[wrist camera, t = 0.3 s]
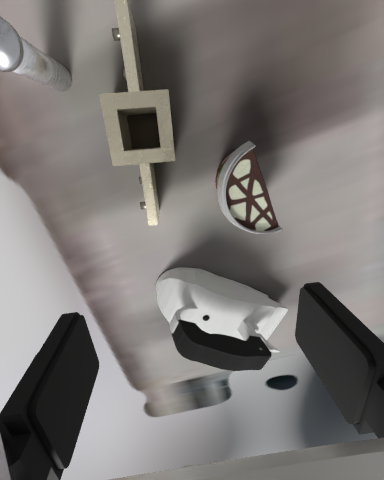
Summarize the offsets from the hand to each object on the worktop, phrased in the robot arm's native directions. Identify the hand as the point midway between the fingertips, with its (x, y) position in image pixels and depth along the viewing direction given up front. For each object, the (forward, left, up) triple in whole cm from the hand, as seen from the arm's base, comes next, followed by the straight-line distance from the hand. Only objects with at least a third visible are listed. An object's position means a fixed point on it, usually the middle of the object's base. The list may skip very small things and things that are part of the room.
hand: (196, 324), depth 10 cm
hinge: (-9, -4, -30) cm, 31 cm away
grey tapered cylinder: (-16, -14, -30) cm, 37 cm away
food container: (0, +8, -30) cm, 31 cm away
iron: (+22, +5, -30) cm, 38 cm away
